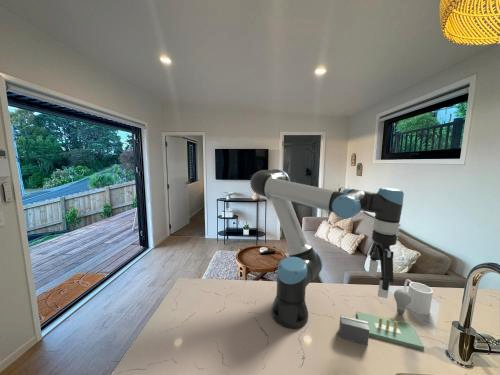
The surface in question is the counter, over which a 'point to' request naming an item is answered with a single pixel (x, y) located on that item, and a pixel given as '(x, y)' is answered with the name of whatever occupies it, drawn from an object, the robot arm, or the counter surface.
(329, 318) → the counter surface
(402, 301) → the lightbulb
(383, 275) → the robot arm
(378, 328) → the board
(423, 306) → the cup
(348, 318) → the block
